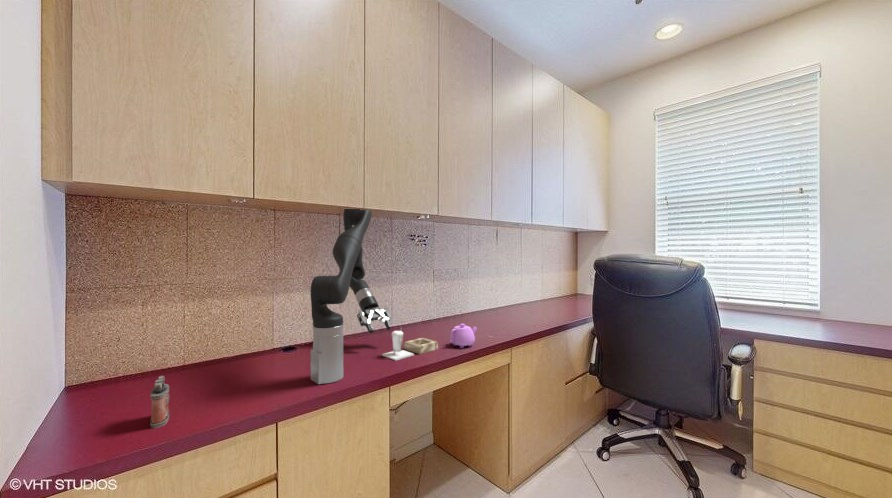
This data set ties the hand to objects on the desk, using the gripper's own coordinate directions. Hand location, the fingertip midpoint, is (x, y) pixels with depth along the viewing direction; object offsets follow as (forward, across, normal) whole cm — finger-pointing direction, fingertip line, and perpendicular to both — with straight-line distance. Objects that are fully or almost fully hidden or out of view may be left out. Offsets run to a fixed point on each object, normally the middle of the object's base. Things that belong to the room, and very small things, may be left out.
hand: (381, 330), depth 138 cm
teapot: (+20, +29, -9) cm, 37 cm away
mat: (+14, 0, -3) cm, 14 cm away
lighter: (+14, -71, -2) cm, 72 cm away
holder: (+14, +12, -3) cm, 18 cm away
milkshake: (+13, 0, -3) cm, 14 cm away
